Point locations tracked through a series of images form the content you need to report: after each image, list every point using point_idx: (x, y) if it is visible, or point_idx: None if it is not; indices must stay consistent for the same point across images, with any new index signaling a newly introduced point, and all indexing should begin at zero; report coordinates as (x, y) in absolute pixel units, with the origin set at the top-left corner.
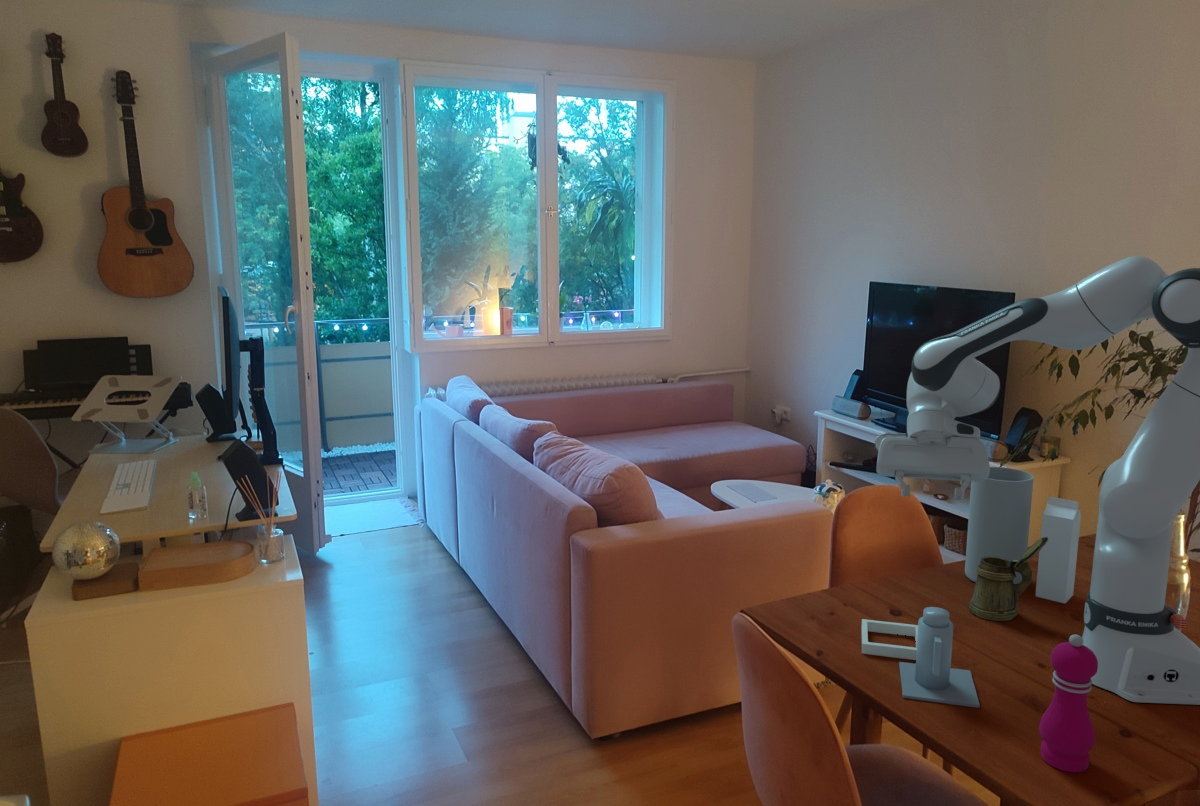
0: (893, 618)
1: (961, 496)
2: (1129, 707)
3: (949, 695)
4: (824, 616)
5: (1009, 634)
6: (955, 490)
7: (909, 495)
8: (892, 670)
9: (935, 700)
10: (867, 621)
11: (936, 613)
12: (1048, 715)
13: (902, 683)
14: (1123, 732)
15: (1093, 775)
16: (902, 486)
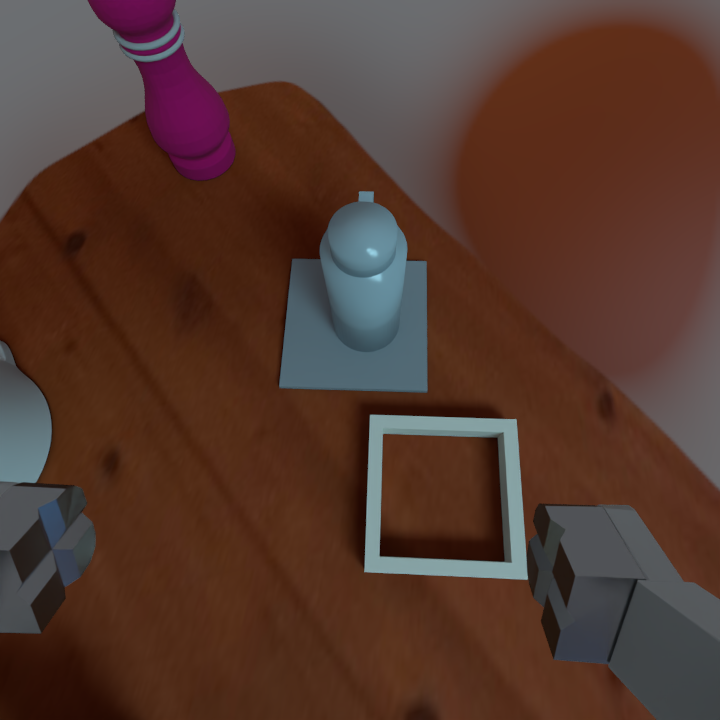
0: (430, 679)
1: (25, 483)
2: (19, 324)
3: None
4: None
5: (121, 636)
6: (36, 534)
7: (533, 538)
8: (441, 362)
9: None
10: (511, 565)
11: (363, 221)
12: (210, 90)
13: (425, 301)
14: (76, 244)
15: None
16: (661, 550)
